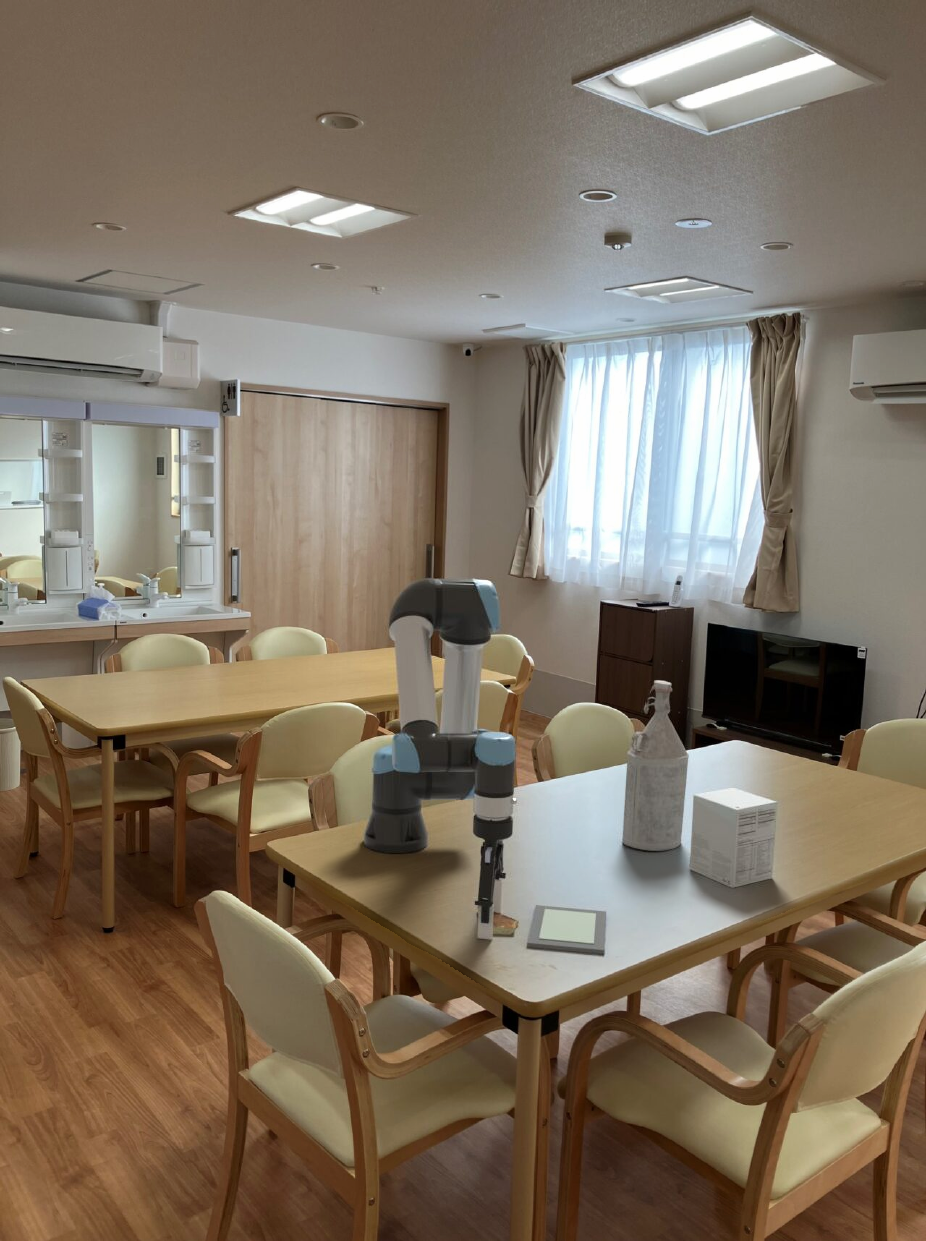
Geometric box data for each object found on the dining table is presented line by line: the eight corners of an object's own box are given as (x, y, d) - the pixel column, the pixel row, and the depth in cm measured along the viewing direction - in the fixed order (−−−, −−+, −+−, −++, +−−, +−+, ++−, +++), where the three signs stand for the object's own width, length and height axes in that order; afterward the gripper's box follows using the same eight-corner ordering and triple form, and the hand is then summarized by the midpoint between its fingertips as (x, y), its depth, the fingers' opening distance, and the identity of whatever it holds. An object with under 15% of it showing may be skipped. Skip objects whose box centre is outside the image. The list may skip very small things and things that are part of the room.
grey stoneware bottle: (607, 843, 244) (615, 680, 239) (653, 829, 255) (661, 674, 251) (649, 857, 234) (658, 689, 230) (694, 843, 245) (703, 682, 241)
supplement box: (774, 878, 223) (779, 801, 221) (732, 889, 216) (737, 809, 214) (729, 860, 234) (733, 786, 232) (687, 869, 227) (692, 793, 225)
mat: (527, 946, 184) (527, 941, 184) (535, 908, 202) (535, 904, 202) (604, 954, 182) (604, 948, 182) (606, 915, 200) (606, 910, 200)
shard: (477, 913, 200) (477, 904, 200) (515, 913, 200) (516, 905, 200) (479, 936, 189) (479, 927, 189) (520, 936, 190) (520, 927, 189)
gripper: (505, 836, 179) (501, 953, 181) (519, 798, 202) (515, 902, 205) (463, 833, 180) (460, 949, 182) (482, 795, 204) (479, 898, 206)
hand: (489, 924), depth 193 cm, fingers open, 12 cm apart
